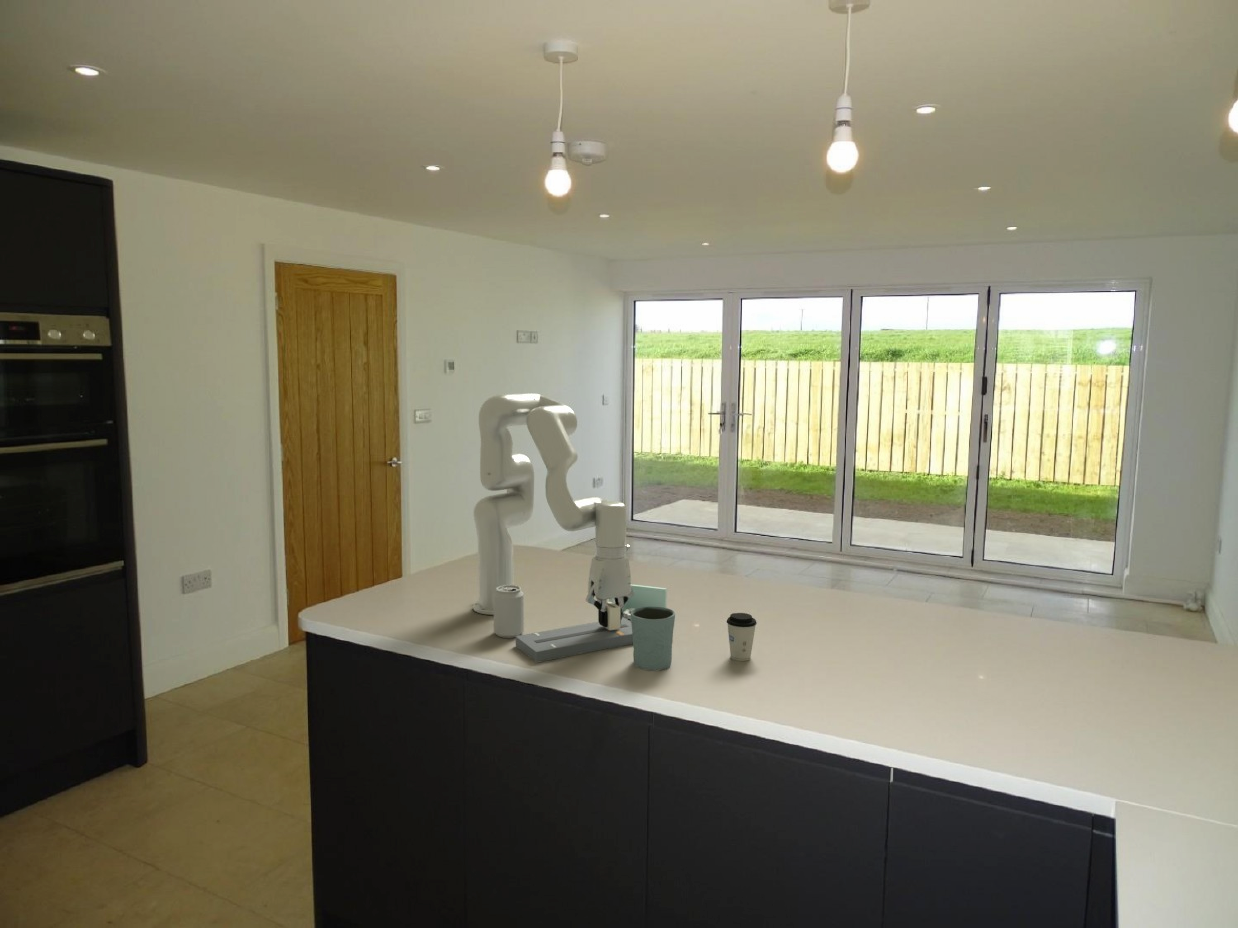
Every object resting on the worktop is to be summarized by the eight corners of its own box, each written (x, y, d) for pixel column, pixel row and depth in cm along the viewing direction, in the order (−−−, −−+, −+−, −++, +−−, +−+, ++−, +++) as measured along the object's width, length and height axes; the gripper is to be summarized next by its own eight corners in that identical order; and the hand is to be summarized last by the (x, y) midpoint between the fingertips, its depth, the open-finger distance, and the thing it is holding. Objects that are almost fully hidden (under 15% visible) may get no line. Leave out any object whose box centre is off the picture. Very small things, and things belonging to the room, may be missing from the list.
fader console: (515, 646, 198) (515, 635, 197) (623, 626, 213) (623, 616, 212) (536, 662, 187) (536, 651, 187) (647, 640, 202) (647, 630, 202)
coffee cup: (758, 654, 194) (759, 613, 193) (752, 664, 187) (754, 622, 186) (728, 650, 196) (729, 609, 195) (722, 660, 190) (723, 618, 188)
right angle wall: (609, 622, 218) (609, 595, 217) (625, 609, 229) (625, 583, 228) (652, 628, 213) (652, 600, 212) (666, 615, 224) (666, 588, 224)
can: (518, 640, 202) (518, 592, 200) (489, 637, 204) (488, 590, 202) (527, 630, 209) (527, 584, 208) (499, 627, 211) (499, 582, 209)
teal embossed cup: (643, 674, 181) (644, 621, 179) (622, 659, 190) (622, 609, 188) (682, 666, 186) (683, 615, 184) (660, 652, 195) (660, 603, 193)
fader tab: (599, 624, 205) (599, 602, 204) (610, 622, 206) (610, 601, 206) (609, 630, 201) (609, 608, 200) (620, 628, 202) (620, 606, 201)
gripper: (631, 545, 208) (630, 615, 211) (573, 552, 200) (573, 625, 203) (647, 551, 202) (646, 623, 204) (588, 559, 194) (587, 634, 196)
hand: (610, 623), depth 203 cm, fingers closed on fader tab, 3 cm apart
